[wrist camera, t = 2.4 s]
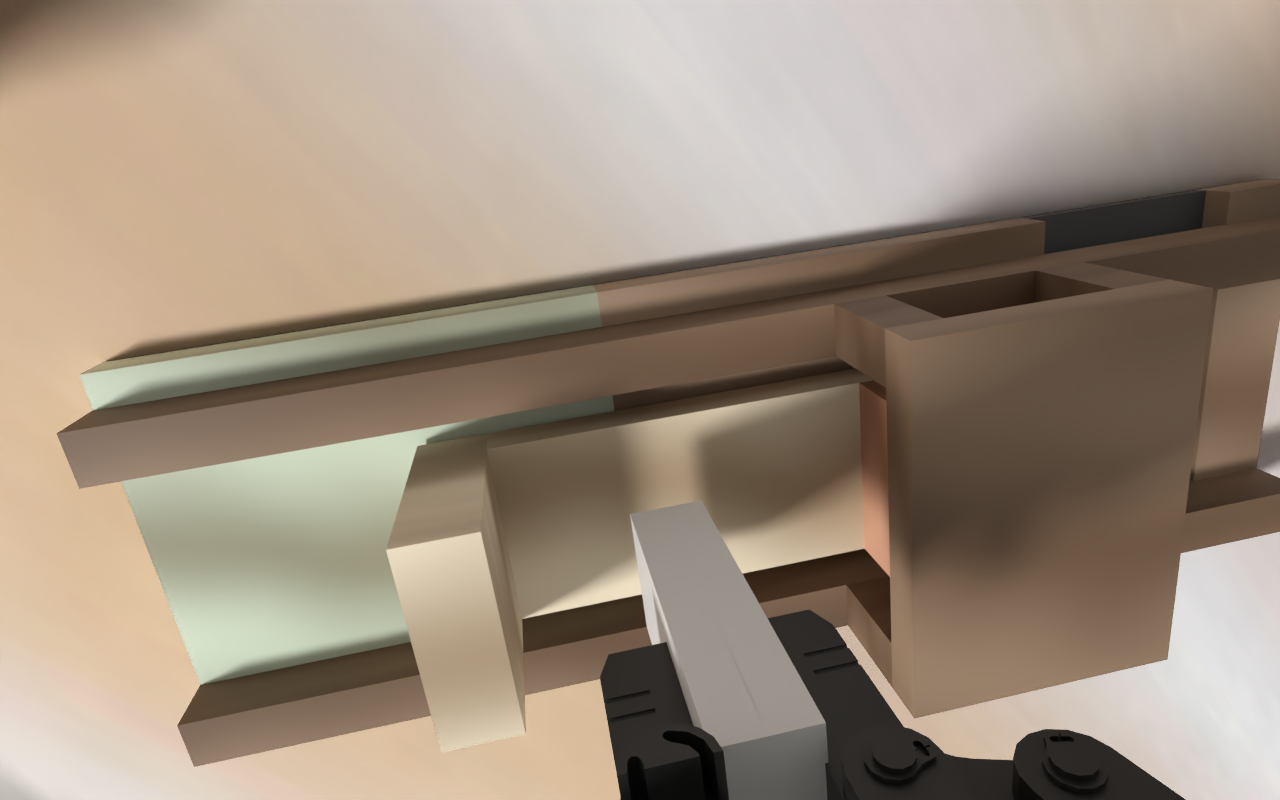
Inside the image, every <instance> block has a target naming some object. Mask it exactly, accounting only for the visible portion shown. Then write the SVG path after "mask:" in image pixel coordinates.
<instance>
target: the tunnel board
mask: <svg viewBox="0 0 1280 800" xmlns="http://www.w3.org/2000/svg"><path fill="white" fill-rule="evenodd" d="M1279 319H1280V180H1274V179H1262V180H1255V181H1249V182H1243V183H1236V184H1230V185H1224V186H1217V187H1211V188H1205V189H1198V190H1192V191H1186V192H1179V193H1173V194H1167V195H1160V196H1154V197H1147V198H1141V199H1135V200H1128V201H1122V202H1116V203H1109V204H1103V205H1097V206H1090V207H1084V208H1078V209H1071V210H1065V211H1059V212H1052V213H1046V214H1040V215H1033V216H1027V217H1021V218H1014V219H1008V220H1002V221H995V222H989V223H983V224H976V225H970V226H964V227H957V228H951V229H945V230H938V231H932V232H926V233H919V234H913V235H907V236H900V237H894V238H887V239H881V240H875V241H868V242H862V243H856V244H849V245H843V246H837V247H830V248H824V249H818V250H811V251H805V252H799V253H792V254H786V255H780V256H773V257H767V258H761V259H754V260H748V261H742V262H735V263H729V264H723V265H716V266H710V267H704V268H697V269H691V270H685V271H678V272H672V273H666V274H659V275H653V276H647V277H640V278H634V279H628V280H621V281H615V282H608V283H602V284H596V285H589V286H583V287H577V288H570V289H564V290H558V291H551V292H545V293H539V294H532V295H526V296H520V297H513V298H507V299H501V300H494V301H488V302H482V303H475V304H469V305H463V306H456V307H450V308H444V309H437V310H431V311H425V312H418V313H412V314H406V315H399V316H393V317H387V318H380V319H374V320H368V321H361V322H355V323H349V324H342V325H336V326H329V327H323V328H317V329H310V330H304V331H298V332H291V333H285V334H279V335H272V336H266V337H260V338H253V339H247V340H241V341H234V342H228V343H222V344H215V345H209V346H203V347H196V348H190V349H184V350H177V351H171V352H165V353H158V354H152V355H146V356H139V357H133V358H127V359H120V360H114V361H108V362H102V363H101V364H99V365H97V366H95V367H93V368H91V369H89V370H87V371H86V372H84V373H82V374H80V375H79V376H80V378H81V381H82V383H83V386H84V388H85V391H86V393H87V396H88V399H89V401H90V404H91V406H92V409H93V411H91V412H90V413H88V414H87V415H85V416H84V417H82V418H80V419H79V420H77V421H76V422H74V423H73V424H71V425H69V426H68V427H66V428H65V429H63V430H62V431H60V432H58V433H57V435H58V438H59V440H60V443H61V445H62V447H63V450H64V452H65V455H66V457H67V460H68V462H69V464H70V467H71V469H72V472H73V474H74V477H75V479H76V481H77V484H78V486H79V489H80V488H86V487H91V486H97V485H103V484H108V483H114V482H120V481H121V483H122V485H123V488H124V491H125V493H126V496H127V498H128V501H129V503H130V506H131V508H132V511H133V514H134V516H135V519H136V521H137V524H138V526H139V529H140V531H141V534H142V537H143V539H144V542H145V544H146V547H147V549H148V552H149V554H150V557H151V559H152V562H153V565H154V567H155V570H156V572H157V575H158V577H159V580H160V582H161V585H162V588H163V590H164V593H165V595H166V598H167V600H168V603H169V605H170V608H171V611H172V613H173V616H174V618H175V621H176V623H177V626H178V628H179V631H180V634H181V636H182V639H183V641H184V644H185V646H186V649H187V651H188V654H189V657H190V659H191V662H192V664H193V667H194V669H195V672H196V674H197V677H198V680H199V682H200V687H199V689H198V690H197V692H196V694H195V696H194V697H193V699H192V701H191V703H190V704H189V706H188V708H187V710H186V711H185V713H184V715H183V717H182V718H181V720H180V722H179V724H178V725H177V726H178V729H179V731H180V733H181V736H182V738H183V741H184V743H185V745H186V748H187V750H188V753H189V755H190V758H191V760H192V762H193V765H194V767H195V766H200V765H205V764H209V763H214V762H218V761H223V760H228V759H232V758H237V757H242V756H246V755H251V754H255V753H260V752H265V751H269V750H274V749H279V748H283V747H288V746H292V745H297V744H302V743H306V742H311V741H315V740H320V739H325V738H329V737H334V736H339V735H343V734H348V733H352V732H357V731H362V730H366V729H371V728H375V727H380V726H385V725H389V724H394V723H399V722H403V721H408V720H412V719H417V718H422V717H426V716H431V713H430V710H429V706H428V702H427V699H426V695H425V691H424V688H423V684H422V680H421V677H420V673H419V669H418V666H417V662H416V658H415V655H414V651H413V647H412V644H411V640H410V636H409V633H408V629H407V625H406V622H405V618H404V614H403V611H402V607H401V603H400V600H399V596H398V592H397V589H396V585H395V581H394V578H393V574H392V570H391V566H390V563H389V559H388V555H387V552H386V548H387V545H388V542H389V538H390V535H391V532H392V528H393V525H394V522H395V518H396V515H397V512H398V509H399V505H400V502H401V499H402V495H403V492H404V489H405V485H406V482H407V479H408V475H409V472H410V469H411V466H412V462H413V459H414V456H415V452H416V449H417V446H420V445H426V444H432V443H437V442H443V441H449V440H454V439H460V438H465V437H471V436H477V435H482V434H488V433H494V432H499V431H505V430H511V429H516V428H522V427H528V426H533V425H539V424H545V423H550V422H556V421H561V420H567V419H573V418H578V417H584V416H590V415H595V414H601V413H607V412H612V411H618V410H624V409H629V408H635V407H641V406H646V405H652V404H657V403H663V402H669V401H674V400H680V399H686V398H691V397H697V396H703V395H708V394H714V393H720V392H725V391H731V390H737V389H742V388H748V387H753V386H759V385H765V384H770V383H776V382H782V381H787V380H793V379H799V378H804V377H810V376H816V375H821V374H827V373H833V372H838V371H844V370H849V369H855V368H856V369H857V370H859V371H860V372H862V373H863V374H865V375H867V376H868V377H870V378H871V379H873V380H874V381H876V382H878V383H879V384H881V385H882V386H884V387H885V388H886V407H887V454H888V502H889V550H890V577H889V575H888V574H887V573H886V572H885V571H884V570H883V569H882V568H881V566H880V565H879V564H878V563H877V562H876V561H875V560H874V559H873V557H872V556H871V555H870V554H869V553H868V552H867V551H866V550H865V549H860V550H855V551H850V552H845V553H841V554H836V555H831V556H826V557H821V558H816V559H811V560H806V561H802V562H797V563H792V564H787V565H782V566H777V567H772V568H768V569H763V570H758V571H753V572H748V573H743V576H744V577H745V579H746V581H747V583H748V585H749V586H750V588H751V590H752V592H753V594H754V595H755V597H756V599H757V601H758V602H759V604H760V606H761V608H762V610H763V611H764V613H765V615H766V617H767V618H771V617H776V616H781V615H785V614H790V613H795V612H799V611H804V610H811V611H812V612H814V613H816V614H817V615H819V616H820V617H822V618H823V619H825V620H827V621H828V622H830V623H831V624H833V626H834V627H835V628H837V627H842V626H846V625H848V626H849V627H850V628H851V630H852V631H853V633H854V634H855V636H856V637H857V638H858V640H859V641H860V643H861V644H862V645H863V647H864V648H865V650H866V651H867V652H868V654H869V655H870V657H871V658H872V659H873V661H874V662H875V664H876V665H877V666H878V668H879V669H880V671H881V672H882V673H883V675H884V676H885V678H886V679H887V681H888V682H889V683H890V685H891V686H892V688H893V689H894V690H895V692H896V693H897V695H898V696H899V697H900V699H901V700H902V702H903V703H904V704H905V706H906V707H907V709H908V710H909V711H910V713H911V714H912V716H913V717H914V718H918V717H922V716H927V715H931V714H935V713H940V712H944V711H948V710H952V709H957V708H961V707H965V706H970V705H974V704H978V703H982V702H987V701H991V700H995V699H1000V698H1004V697H1008V696H1012V695H1017V694H1021V693H1025V692H1030V691H1034V690H1038V689H1042V688H1047V687H1051V686H1055V685H1060V684H1064V683H1068V682H1072V681H1077V680H1081V679H1085V678H1089V677H1094V676H1098V675H1102V674H1107V673H1111V672H1115V671H1119V670H1124V669H1128V668H1132V667H1137V666H1141V665H1145V664H1149V663H1154V662H1158V661H1162V660H1167V658H1168V650H1169V642H1170V634H1171V626H1172V618H1173V610H1174V602H1175V594H1176V586H1177V578H1178V570H1179V562H1180V554H1181V553H1183V552H1188V551H1193V550H1197V549H1202V548H1206V547H1211V546H1216V545H1220V544H1225V543H1229V542H1234V541H1239V540H1243V539H1248V538H1253V537H1257V536H1262V535H1266V534H1271V533H1276V532H1280V478H1278V477H1276V476H1273V475H1271V474H1269V473H1266V472H1264V471H1262V470H1259V469H1257V468H1256V467H1257V460H1258V454H1259V448H1260V441H1261V435H1262V428H1263V422H1264V416H1265V409H1266V403H1267V396H1268V390H1269V383H1270V377H1271V371H1272V364H1273V358H1274V351H1275V345H1276V339H1277V332H1278V326H1279ZM522 628H523V661H524V694H525V695H528V694H532V693H537V692H542V691H546V690H551V689H555V688H560V687H565V686H569V685H574V684H579V683H583V682H588V681H592V680H597V679H600V675H601V673H602V670H603V668H604V665H605V662H606V660H607V657H608V655H609V654H613V653H617V652H622V651H627V650H631V649H636V648H641V647H645V646H650V645H652V643H651V640H650V636H649V633H648V629H647V625H646V618H645V611H644V605H643V598H642V594H641V595H636V596H631V597H626V598H621V599H617V600H612V601H607V602H602V603H597V604H592V605H587V606H582V607H578V608H573V609H568V610H563V611H558V612H553V613H548V614H543V615H539V616H534V617H529V618H524V619H522Z"/></svg>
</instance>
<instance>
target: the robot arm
mask: <svg viewBox="0 0 1280 800" xmlns="http://www.w3.org/2000/svg"><path fill="white" fill-rule="evenodd" d="M630 517H631V524H632V531H633V538H634V544H635V551H636V558H637V564H638V571H639V578H640V585H641V591H642V598H643V605H644V611H645V618H646V625H647V629H648V633H649V636H650V640H651V643H652V645H650V646H645V647H641V648H636V649H631V650H627V651H622V652H617V653H613V654H609V655H608V657H607V660H606V662H605V665H604V668H603V670H602V673H601V675H600V680H601V686H602V692H603V697H604V703H605V709H606V714H607V720H608V726H609V731H610V737H611V743H612V749H613V754H614V760H615V766H616V771H617V778H618V783H619V789H620V795H621V800H1185V799H1184V798H1182V797H1181V796H1180V795H1178V794H1177V793H1175V792H1174V791H1172V790H1171V789H1170V788H1168V787H1167V786H1165V785H1164V784H1162V783H1161V782H1160V781H1158V780H1157V779H1155V778H1154V777H1152V776H1151V775H1150V774H1148V773H1147V772H1145V771H1144V770H1142V769H1141V768H1140V767H1138V766H1137V765H1135V764H1134V763H1132V762H1131V761H1130V760H1128V759H1127V758H1125V757H1124V756H1122V755H1121V754H1120V753H1118V752H1117V751H1115V750H1114V749H1112V748H1111V747H1109V746H1107V745H1105V744H1104V743H1102V742H1100V741H1098V740H1096V739H1094V738H1092V737H1090V736H1087V735H1084V734H1080V733H1076V732H1073V731H1069V730H1053V729H1045V730H1041V731H1038V732H1034V733H1031V734H1028V735H1027V736H1025V737H1024V738H1023V739H1022V740H1021V741H1020V742H1019V743H1018V744H1017V745H1016V749H1015V753H1014V757H1013V760H990V759H970V758H962V757H955V756H951V755H948V754H944V753H943V751H942V750H941V749H940V748H939V747H938V746H937V745H936V744H935V743H933V742H932V741H931V740H930V739H929V738H928V737H926V736H924V735H922V734H920V733H918V732H916V731H914V730H912V729H909V728H904V727H903V725H902V724H901V722H900V721H899V720H898V718H897V717H896V715H895V714H894V712H893V711H892V709H891V708H890V707H889V705H888V704H887V702H886V701H885V699H884V698H883V696H882V695H881V694H880V692H879V691H878V689H877V688H876V686H875V685H874V683H873V682H872V681H871V679H870V678H869V676H868V675H867V673H866V672H865V670H864V669H863V668H862V666H861V665H859V664H858V660H857V659H856V657H855V656H854V655H853V653H852V652H851V650H850V649H849V648H847V646H846V643H845V642H844V640H843V639H842V637H841V636H840V634H839V633H838V631H837V630H836V629H835V627H834V626H833V624H831V623H830V622H828V621H827V620H825V619H823V618H822V617H820V616H819V615H817V614H816V613H814V612H812V611H811V610H804V611H799V612H795V613H790V614H785V615H781V616H776V617H771V618H767V617H766V615H765V613H764V611H763V610H762V608H761V606H760V604H759V602H758V601H757V599H756V597H755V595H754V594H753V592H752V590H751V588H750V586H749V585H748V583H747V581H746V579H745V577H744V576H743V574H742V572H741V570H740V569H739V567H738V565H737V563H736V561H735V560H734V558H733V556H732V554H731V552H730V551H729V549H728V547H727V545H726V544H725V542H724V540H723V538H722V536H721V535H720V533H719V531H718V529H717V527H716V526H715V524H714V522H713V520H712V519H711V517H710V515H709V513H708V511H707V510H706V508H705V506H704V504H703V502H702V501H701V500H700V501H695V502H690V503H685V504H680V505H675V506H669V507H664V508H659V509H654V510H649V511H644V512H638V513H633V514H630Z"/></svg>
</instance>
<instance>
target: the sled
mask: <svg viewBox="0 0 1280 800" xmlns="http://www.w3.org/2000/svg"><path fill="white" fill-rule="evenodd" d="M700 500H701V501H702V502H703V504H704V506H705V508H706V510H707V511H708V513H709V515H710V517H711V519H712V520H713V522H714V524H715V526H716V527H717V529H718V531H719V533H720V535H721V536H722V538H723V540H724V542H725V544H726V545H727V547H728V549H729V551H730V552H731V554H732V556H733V558H734V560H735V561H736V563H737V565H738V567H739V569H740V570H741V572H742V574H743V573H748V572H753V571H758V570H763V569H768V568H772V567H777V566H782V565H787V564H792V563H797V562H802V561H806V560H811V559H816V558H821V557H826V556H831V555H836V554H841V553H845V552H850V551H855V550H860V549H865V550H866V551H867V552H868V553H869V554H870V555H871V556H872V557H873V559H874V560H875V561H876V562H877V563H878V564H879V565H880V566H881V568H882V569H883V570H884V571H885V572H886V573H887V574H888V575H889V577H890V550H889V502H888V454H887V407H886V388H885V387H884V386H882V385H881V384H879V383H878V382H876V381H874V380H873V379H871V378H870V377H868V376H867V375H865V374H863V373H862V372H860V371H859V370H857V369H856V368H855V369H849V370H844V371H838V372H833V373H827V374H821V375H816V376H810V377H804V378H799V379H793V380H787V381H782V382H776V383H770V384H765V385H759V386H753V387H748V388H742V389H737V390H731V391H725V392H720V393H714V394H708V395H703V396H697V397H691V398H686V399H680V400H674V401H669V402H663V403H657V404H652V405H646V406H641V407H635V408H629V409H624V410H618V411H612V412H607V413H601V414H595V415H590V416H584V417H578V418H573V419H567V420H561V421H556V422H550V423H545V424H539V425H533V426H528V427H522V428H516V429H511V430H505V431H499V432H494V433H488V434H482V435H477V436H471V437H465V438H460V439H454V440H449V441H443V442H437V443H432V444H426V445H420V446H417V449H416V452H415V456H414V459H413V462H412V466H411V469H410V472H409V475H408V479H407V482H406V485H405V489H404V492H403V495H402V499H401V502H400V505H399V509H398V512H397V515H396V518H395V522H394V525H393V528H392V532H391V535H390V538H389V542H388V545H387V548H386V552H387V555H388V559H389V563H390V566H391V570H392V574H393V578H394V581H395V585H396V589H397V592H398V596H399V600H400V603H401V607H402V611H403V614H404V618H405V622H406V625H407V629H408V633H409V636H410V640H411V644H412V647H413V651H414V655H415V658H416V662H417V666H418V669H419V673H420V677H421V680H422V684H423V688H424V691H425V695H426V699H427V702H428V706H429V710H430V713H431V717H432V721H433V724H434V728H435V732H436V735H437V739H438V743H439V746H440V750H441V753H443V752H447V751H452V750H456V749H461V748H465V747H470V746H474V745H479V744H483V743H488V742H492V741H497V740H501V739H506V738H510V737H515V736H519V735H524V734H526V727H525V694H524V661H523V628H522V619H524V618H529V617H534V616H539V615H543V614H548V613H553V612H558V611H563V610H568V609H573V608H578V607H582V606H587V605H592V604H597V603H602V602H607V601H612V600H617V599H621V598H626V597H631V596H636V595H641V594H642V591H641V585H640V578H639V571H638V564H637V558H636V551H635V544H634V538H633V531H632V524H631V517H630V514H633V513H638V512H644V511H649V510H654V509H659V508H664V507H669V506H675V505H680V504H685V503H690V502H695V501H700Z"/></svg>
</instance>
